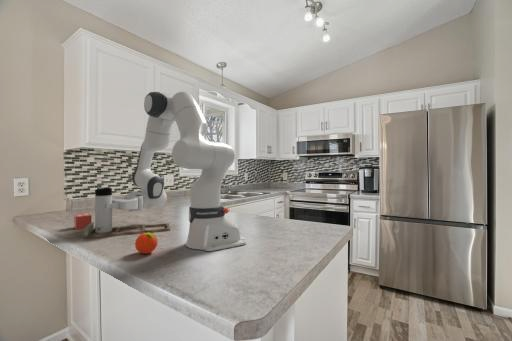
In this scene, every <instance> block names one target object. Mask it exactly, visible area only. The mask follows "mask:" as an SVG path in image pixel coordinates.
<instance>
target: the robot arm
mask: <svg viewBox="0 0 512 341" xmlns="http://www.w3.org/2000/svg"><path fill="white" fill-rule="evenodd" d="M143 104H144V105H143V106H144V111H145V113H146V115H148V118H147V122H146V126H145V127H146V128H145V136H144V139H143V142H142V143H141V147H140V150H139V155H138V159H137V163H136V164H137V165H136V167H135V169H134V171H133V173H132V176H131V181H132V183H133V185H134V186H135V187H138V188H139V189H141V191H136V192H135V191H134V192H128V193H127V194H126V195H124V197H123V196H122V197H121V196H120V197H119V196H118V197H117V196H116V197H113V196H112V203H111V204H110V203H109V204H105V208H112V209H119V210H122V211H128V212H135V211H136V212H137V211H143V210H145V209H146V210H152V209H156V208H160V207H162V206H164V205H165V204H166V203H167V199H168V196H167V193H166V192H165V188H164V186H165V180H164V179H163V178H162V176H160V175H158V174H156V173H154V172H153V171H152V169H151V165H152V163H153V162H152V161H153V157H154V155H155V153H156V152H159V151H162V150H165V149H166V148H167V147H168V146H169V144H170V141H171V138H172V136H171V135H172V127H173V124H174V123H176V125H177V129H178V131H179V135H180V138H179V140H178V141H176V142H175V143H174V145H173V147H172V149H171V157H172V160H173V162H174V164H175V166H177V167H179V168H182V169H187V170H190V171H191V170H201V174H200V176H199V177H198V179H197V180H195V181H194V182H192V184H191V186H190V194H189V195H190V200H189V201H190V206H189V208H188V209H189V210H188V220H189V221H188V222H189V229H188V234H187V240H186V243H185V246H186V247H187V248H189V249H193V250H202V251H207V252H213V251H219V250H224V249H229V248H234V247H238V246H239V247H241V246H243V245H246V244H247V239H246V237H245V236H244V235H241V231H240V228H239V225H238V224H236V223H235V222H234V221H233V220H232V219H231V218H230V217H228V216H226V214H229V213H230V209H229V208H228V207H224V206H222V205H221V191H222V183H223V179H224V177H225V174H226V172H227V171H228V169H230V168H231V167H232V165H233V163H234V162H235V159H236V158H235V157H236V155H235V150H234V148H233V147H232V146H231V145H230V144H228V143H225V142H222V141H215V140H206V138H205V137H204V136H205V135H206V133H207V131H208V128H209V127H208V126H209V125H208V123H207V120H206V118H205V116H204V114H203V112H202V109H201V108H200V105H199V104H198V102H197V101H196V99H195V98H194V97H193V95H192V94H191V93H190V92H187V91H179V92H176V93H175V94H171V93H166V92H165V93H164V92H163V93H162V92H160V91H150V92H148V93H147V94H146V95H145V97H144V103H143Z"/></svg>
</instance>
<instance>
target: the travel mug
mask: <svg viewBox="0 0 512 341" xmlns="http://www.w3.org/2000/svg"><path fill="white" fill-rule="evenodd" d="M94 191H95V194H94V196H95V197H94V207H95V208H94V212H95V215H94V216H95V217H94V220H95V221H94V223H95V224H94V229H95V230H96V231H95V232H94V233H95V234H105V233H113V230H112V228H113V208H105V204H109V203H110V204H111V203H112V198H113V188H112V187H111V188H110V187H103V188H97V189H95V190H94Z"/></svg>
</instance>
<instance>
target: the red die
mask: <svg viewBox="0 0 512 341" xmlns="http://www.w3.org/2000/svg"><path fill="white" fill-rule="evenodd" d="M90 223H92V214H90V213H82V214H81V213H80V214H73V228H74V230H75V231H77V230H84V228H85V227H86V226H87V225H88V224H90Z"/></svg>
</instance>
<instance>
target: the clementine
mask: <svg viewBox="0 0 512 341" xmlns="http://www.w3.org/2000/svg"><path fill="white" fill-rule="evenodd" d="M157 246H158V238H157V235H155V234H154V232H151V233H150V232H146V233H140V234H139V235H138V236H136V240H135V243H134V247H135V249H136V250H137V252H139V253H140V254H143V255H146V254H150V253H152V252H153V251H155V250H156V248H157Z"/></svg>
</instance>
